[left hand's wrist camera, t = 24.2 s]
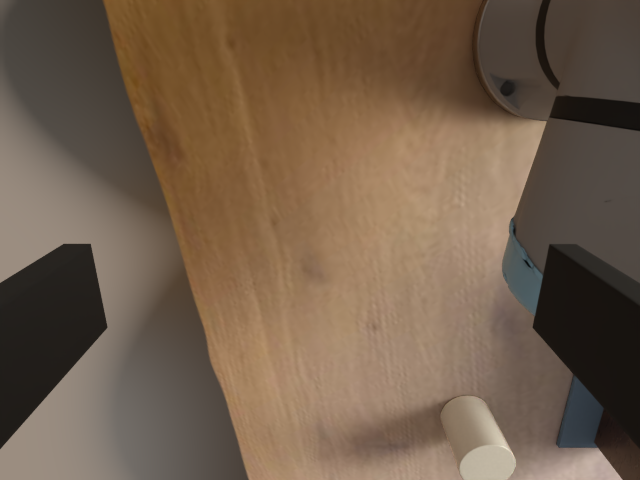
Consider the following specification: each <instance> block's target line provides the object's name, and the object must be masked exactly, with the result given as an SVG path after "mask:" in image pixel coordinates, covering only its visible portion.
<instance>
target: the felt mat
mask: <svg viewBox="0 0 640 480" xmlns="http://www.w3.org/2000/svg"><path fill="white" fill-rule="evenodd" d="M603 409H604V408H603V407H602V406H601V405H600V403H599V402H598V401H597V400H596V399H595V398H594V397H593V395H592V394H591V393H590V392H589V391H588V390H587V389H586V388H585V386H584V385H583V384H582V383H581V382H580V381H579V380H578V378H577V377H576V376H575V375H574V377H573V381H572V385H571V389H570V393H569V397H568V401H567V405H566V409H565V413H564V417H563V421H562V425H561V429H560V432H559V436H558V440H557V446H558V447H559V448H598V447H597V446H596V444H595V443H594V440H595V437H596V433H597V430H598V426H599V423H600V420H601V416H602V413H603Z"/></svg>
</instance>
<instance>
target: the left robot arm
mask: <svg viewBox="0 0 640 480" xmlns="http://www.w3.org/2000/svg"><path fill="white" fill-rule="evenodd" d="M473 58H474V64H475V69H476V72H477V75H478V78H479V80H480V82H481V84H482V86H483V88H484V90H485V91H486V92H487V94H488V95H489V96H490V98H491V99H492V100H493V101H494V102H495V103H496V104H498V105H499V106H500V107H501V108H503V109H504V110H506V111H508V112H510V113H511V114H514V115H516V116H519V117H523V118H528V119H534V120H541V121H547V123H546V126H545V129H544V132H543V135H542V138H541V141H540V144H539V147H538V150H537V153H536V156H535V159H534V162H533V164H532V167H531V170H530V173H529V176H528V179H527V182H526V185H525V188H524V190H523V193H522V196H521V199H520V202H519V205H518V208H517V211H516V214H515V216H514V217H513V218H512V219H511V221H510V225H509V233H510V235H509V239H508V242H507V246H506V250H505V253H504V257H503V261H502V272H503V276H504V279H505V281H506V283H507V284H508V287H509V289H510V291H511V293H512V294H513V295H514V296H515V298H516V299H517V300H518V301H519V302H520V303H521V304H522V305H523V306H524V307H525V308H526V309H527V310H528V311H529V312H530V313H532V314H533V315H534V316H535V318H534V323H533V329H534V330H535V331H536V332H537V333H538V334H539V335H540V336H541V338H542V339H543V340H544V341H545V342H546V343H547V344H548V346H549V347H550V348H551V349H552V350H553V351H554V352H555V354H556V355H557V356H558V357H559V358H560V359H561V360H562V361H563V363H564V364H565V365H566V366H567V367H568V368H569V369H570V371H571V372H572V373H573V374H574V375H575V376H576V377H577V378H578V380H579V381H580V382H581V383H582V384H583V385H584V386H585V388H586V389H587V390H588V391H589V392H590V393H591V394H592V395H593V397H594V398H595V399H596V400H597V401H598V402H599V403H600V405H601V406H602V407H603V408H604V409H605V410H606V411H607V412H608V414H609V415H610V416H611V417H612V418H613V419H614V420H615V422H616V423H617V424H618V425H619V426H620V427H621V428H622V429H623V431H624V432H625V433H626V434H627V435H628V436H629V437H630V439H631V440H632V441H633V442H634V443H635V444H636V445H637V446H638V448H639V449H640V0H483V3H482V5H481V7H480V10H479V13H478V16H477V19H476V23H475V28H474V34H473ZM106 329H107V323H106V318H105V313H104V308H103V303H102V298H101V293H100V288H99V283H98V278H97V273H96V268H95V263H94V259H93V253H92V248H91V244H63V245H61V246H60V247H58V248H56V249H55V250H53V251H52V252H50V253H48V254H47V255H45V256H43V257H42V258H40V259H39V260H37V261H35V262H34V263H32V264H30V265H29V266H27V267H26V268H24V269H22V270H21V271H19V272H17V273H16V274H14V275H12V276H11V277H9V278H8V279H6V280H4V281H3V282H1V283H0V449H1V448H2V446H3V445H4V444H5V443H6V442H7V441H8V440H9V438H10V437H11V436H12V435H13V434H14V433H15V432H16V431H17V429H18V428H19V427H20V426H21V425H22V424H23V423H24V422H25V420H26V419H27V418H28V417H29V416H30V415H31V414H32V412H33V411H34V410H35V409H36V408H37V407H38V406H39V404H40V403H41V402H42V401H43V400H44V399H45V398H46V397H47V395H48V394H49V393H50V392H51V391H52V390H53V389H54V387H55V386H56V385H57V384H58V383H59V382H60V381H61V380H62V378H63V377H64V376H65V375H66V374H67V373H68V372H69V370H70V369H71V368H72V367H73V366H74V365H75V364H76V362H77V361H78V360H79V359H80V358H81V357H82V356H83V355H84V353H85V352H86V351H87V350H88V349H89V348H90V347H91V346H92V344H93V343H94V342H95V341H96V340H97V339H98V338H99V336H100V335H101V334H102V333H103V332H104V331H105V330H106Z"/></svg>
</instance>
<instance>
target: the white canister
mask: <svg viewBox="0 0 640 480" xmlns="http://www.w3.org/2000/svg"><path fill="white" fill-rule="evenodd" d="M440 419H441V423H442V426H443V429H444V431H445V434H446V437H447V440H448V442H449V445H450V448H451V451H452V453H453V456H454V459H455V462H456V465H457V467H458V470H459V473H460V475H461V477H462V478H463V479H464V480H507V479H508V478H509V477H510V476H511V475H512V473H513V472H514V469H515V466H516V460H515V457H514V455H513V453H512V451H511V449H510V447H509V445H508V443H507V441H506V439H505V438H504V436H503V434H502V432H501V430H500V428H499V426H498V424H497V422H496V420H495V419H494V417H493V415H492V413H491V411H490V409H489V407H488V405H487V404H486V403H485V402H484V401H483V400H482V399H480V398H478V397H475V396H469V395H466V396H460V397H457V398H454V399H452V400H451V401H449V402H448V403H447V404H446V405H445V406H444V407H443V409H442V411H441V415H440Z"/></svg>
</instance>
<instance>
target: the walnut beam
mask: <svg viewBox="0 0 640 480" xmlns="http://www.w3.org/2000/svg"><path fill="white" fill-rule="evenodd" d="M594 443H595V444H596V446H597V447H598V448H599V449H600V451H601V452H602V453H603V455H604V456H605V457H606V459H607V460H608V461H609V462H610V464H611V465H612V466H613V468H614V469H615V470H616V472H617V473H618V474H619V475H620V477H621V478H622V479H623V480H640V449H639V448H638V446H637V445H636V444H635V443H634V442H633V441H632V440H631V439H630V437H629V436H628V435H627V434H626V433H625V432H624V431H623V429H622V428H621V427H620V426H619V425H618V424H617V423H616V422H615V420H614V419H613V418H612V417H611V416H610V415H609V414H608V412H607V411H606V410H605V409H603V413H602V416H601V420H600V423H599V426H598V430H597V433H596V437H595V440H594Z"/></svg>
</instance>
